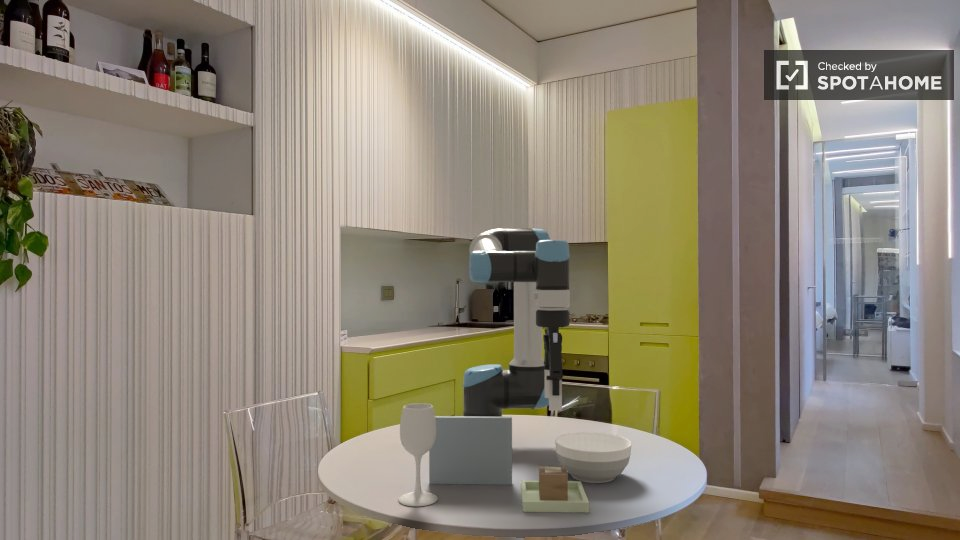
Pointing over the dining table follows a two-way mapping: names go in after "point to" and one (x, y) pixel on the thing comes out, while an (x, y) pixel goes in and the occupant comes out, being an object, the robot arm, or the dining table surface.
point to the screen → (471, 450)
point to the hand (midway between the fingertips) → (552, 403)
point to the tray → (574, 503)
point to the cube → (553, 483)
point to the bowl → (593, 455)
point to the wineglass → (418, 446)
